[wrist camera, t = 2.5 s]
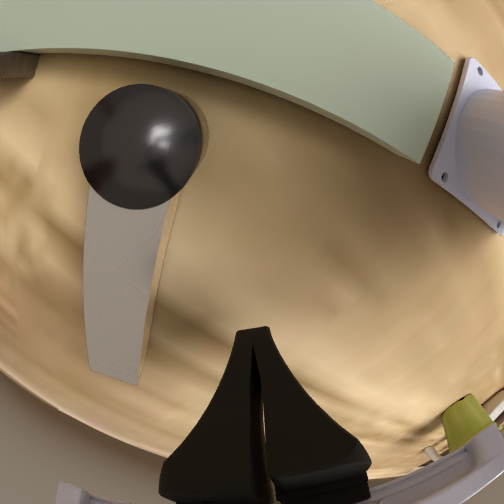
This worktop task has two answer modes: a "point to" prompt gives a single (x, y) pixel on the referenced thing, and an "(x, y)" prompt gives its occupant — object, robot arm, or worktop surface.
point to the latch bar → (132, 214)
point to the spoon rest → (492, 408)
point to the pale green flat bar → (264, 53)
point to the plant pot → (464, 422)
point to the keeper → (17, 65)
